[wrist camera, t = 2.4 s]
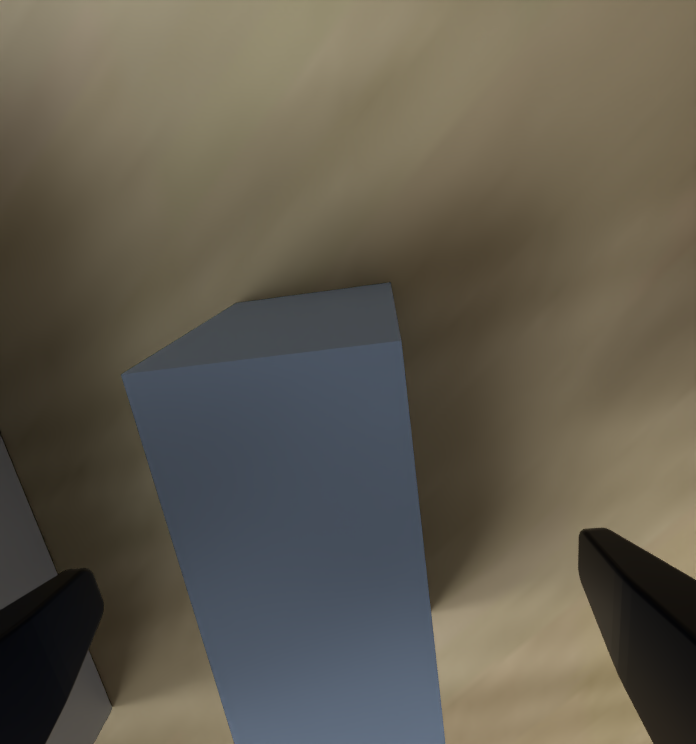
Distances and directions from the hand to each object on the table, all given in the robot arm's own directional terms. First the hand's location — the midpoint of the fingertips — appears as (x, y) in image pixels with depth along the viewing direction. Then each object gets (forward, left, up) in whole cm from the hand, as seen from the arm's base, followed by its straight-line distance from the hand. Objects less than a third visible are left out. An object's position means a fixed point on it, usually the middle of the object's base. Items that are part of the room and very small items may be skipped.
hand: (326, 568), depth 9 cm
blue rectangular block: (0, 0, -3) cm, 3 cm away
